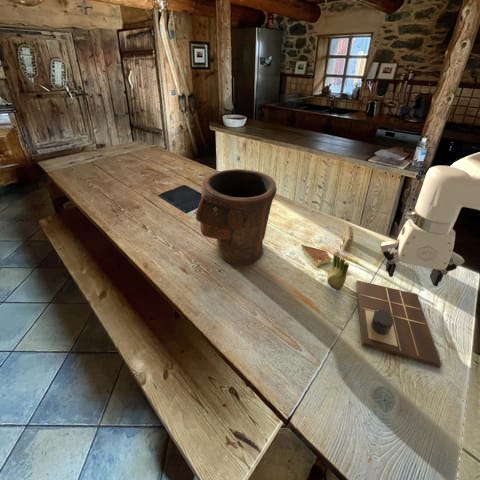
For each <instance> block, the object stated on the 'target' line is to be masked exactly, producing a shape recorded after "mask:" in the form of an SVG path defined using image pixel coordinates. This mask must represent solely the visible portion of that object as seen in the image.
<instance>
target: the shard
mask: <svg viewBox="0 0 480 480" xmlns="http://www.w3.org/2000/svg"><path fill="white" fill-rule="evenodd" d="M300 246H301V249H302V250H303V251H304V252H305V253H306V254H307V255H308V256H309V258H311V260H312V261H313V262H314V263H315V265H316V266H317V267H319V266H322V265H323V264H330V262H331V261H333V257H331V256H330V255H329V253H328V251H325V250H323V249H319V248H316V247H312V246H307V245H304V244H300Z"/></svg>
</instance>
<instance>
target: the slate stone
mask: <svg viewBox="0 0 480 480" xmlns="http://www.w3.org/2000/svg"><path fill="white" fill-rule="evenodd" d="M393 322H394V320H393V317H392V316H391V315H390V314H389V313H388V312H386V311H384V310H376V311H375V312H374V315H373V318H372V321H371V326H372V328H373V329H374V330H375V331H376V332H377V333H379V334H381V335H387V334H389V332H390V330H391V327H392V325H393Z"/></svg>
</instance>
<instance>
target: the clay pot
mask: <svg viewBox="0 0 480 480" xmlns="http://www.w3.org/2000/svg"><path fill="white" fill-rule="evenodd" d="M277 190H278V189H277V183H276V181H275V179H274V178H273V177H272V176H270V175H269V174H267V173H264V172H262V171H258V170H251V169H244V168H243V169H241V168H231V169H224V170H219V171H216V172H213V173H211V174H209V175H207V176H206V177H204V180H203V182H202V184H201V198H200V201H199V204H198V206H197V209H196V214H195V219H196V221H197V222H199V224H200V225H199V227H200V233H201V234H202V236H204V237H205V238H210V239H215V240H216V245H217V248H216V252H217V254H218V256H219V257H220V259H221V260H223V261H224V262H225V263H228V264H230V265H233V266H246V265H251V264H254V263H255V262H256V261H258V260H260V259H262V256H263V255H264V247H263V245H264V239H265V237H266V232H267V226H268V221H269V217H270V213H271V207H272V204H273V200H274V199H275V196H276V194H277Z"/></svg>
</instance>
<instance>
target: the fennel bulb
mask: <svg viewBox="0 0 480 480" xmlns="http://www.w3.org/2000/svg"><path fill="white" fill-rule="evenodd" d="M349 267H350V264H349V262H347V261H346V259H345V257H342V258H341V256H340V255H339V253H338V254H337V252H334V253H333V257H332V263H331V265H330V267H329V270H328V273H327V278H326V280H327V284H328V285H329V286H330V287H331V288H332V289H335V290H341V289H342V288H343V287H344V285H345V283H346V280H347V275H348V270H349Z"/></svg>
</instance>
